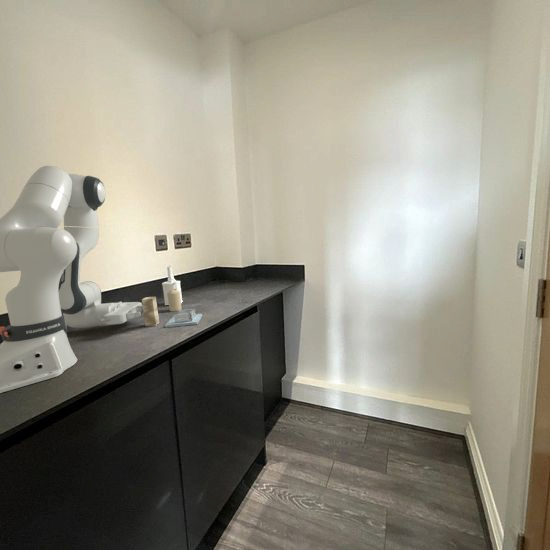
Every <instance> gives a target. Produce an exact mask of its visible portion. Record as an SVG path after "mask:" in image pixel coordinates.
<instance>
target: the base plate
mask: <svg viewBox="0 0 550 550" xmlns="http://www.w3.org/2000/svg"><path fill="white" fill-rule="evenodd" d="M195 314H196V316H195V317H194V319H193V320H192V321H186V322H176V323H175V319H174V315H173V316H172V318H171V317H170V319H169V320H168V321H167V323H166V324H165V326H164V327H165V328H177V327H184V326H186V325H187V326H195V325H196V324H197V325H198V323H199V322H200V320H201V319H202V317H203V314H202V313H195ZM197 325H196V326H197Z"/></svg>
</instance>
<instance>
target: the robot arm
mask: <svg viewBox="0 0 550 550" xmlns="http://www.w3.org/2000/svg"><path fill="white" fill-rule="evenodd" d="M105 200H106V188H105V185H104V182H102V180H101V179H99V177H95V176H92V175H81V174H75V173H68V172H66V171H65V170H64V169H62V168H61V167H59V166H58V167H57V166H55V165H54V166H53V165H43V166H41V167H39V168H38V169H37V170H35V172H33V173H32V175H31V176H30V177H29V179H28V180H27V182H26V183H25V185H24V186H23V189H22V190H21V192H20V194H19V196H18V198H17V199H16V201H15V202H14V204H13V206H12V207H11V208H10V209H9V211H7V212H6V213H5V214H4V215H2V217H0V273H7V272H8V273H9V272H18V271H19V272H20V277H19V281H18V284H17V285H16V286H15V287H14V288H13V287H12V289H10V290H9V291H8V292H7V293H6V295H5V298H4V299H5V300H4V301H5V305H6V308H7V309H6V310H7V314H8V319H9V323H10V324H9V325H7V326H0V335H1V337H2V340H3V341H2V342H1V343H0V394H2V393H4V392H9V391H12V390H15V389H18V388H22V387H26V386H29V385H32V384H36V383H40V382H44V381H46V380H49V379H53V378H57V377H59V376H60V375H62V374H63V373H64V371H66V370H68V369H69V368H71V367H72V366H74V365H75V364H76V363H77V361H78V358H77V356H76V355H75V352H74V351H73V348H72V347H71V345H70V341H69V339H68V328H67V326H68V327H70V328H73V329H78V328H79V329H82V328H83V329H85V328H86V329H87V328H93V327H97V326H98V327H106V326H108V327H109V326H115V325H121V324H125V322H127V321H129V320H131V319H134V318H140V317H142V316H143V313H142V311H144V310H143V304H142V301H141V302H140V301H125V302H122V301H115V302H107V303H102V290H101V288H100V286H99V285H98V284H97V283H96V282H94V281H90V280H85V281H82V282H80V276H81V265H82V264H81V263H82V261H83V259H84V257H85V256H86V255H87V254H88V253H89V252H91V251H92V250H93V249H95V248H96V246H97V245H98V243H99V237H100V229H99V228H100V227H99V226H100V225H99V217H98V212H97V210H98V208H100V207H101V206H102V205H103V204H104V202H105ZM62 223H63V228H59V227H60V225H61V224H62Z"/></svg>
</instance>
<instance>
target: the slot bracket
mask: <svg viewBox="0 0 550 550" xmlns="http://www.w3.org/2000/svg"><path fill="white" fill-rule="evenodd" d="M177 312H178V313H177V314H173V316H174V319H175V323H176V322H186V321H192V320H193V319H194V317H195V316H196V314H197V313H196V308H190V309H189V308H186V309H181V310H178V311H177Z"/></svg>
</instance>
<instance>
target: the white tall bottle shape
mask: <svg viewBox="0 0 550 550" xmlns="http://www.w3.org/2000/svg"><path fill="white" fill-rule="evenodd" d="M174 275H175V274H173V268H172V267H171V265H167V276H168V277H167V281H164V282H162V283H161V286H162V290H163V299H164V306H166V305H169V302H168V295H167V293H168V292H169V290H172V289H177V290H178V291H179V292H180V299H181V304H183V303H184V301H183V296H182V295H183V294H182V288H181V280H177V279H175V277H174ZM182 302H183V303H182Z"/></svg>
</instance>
